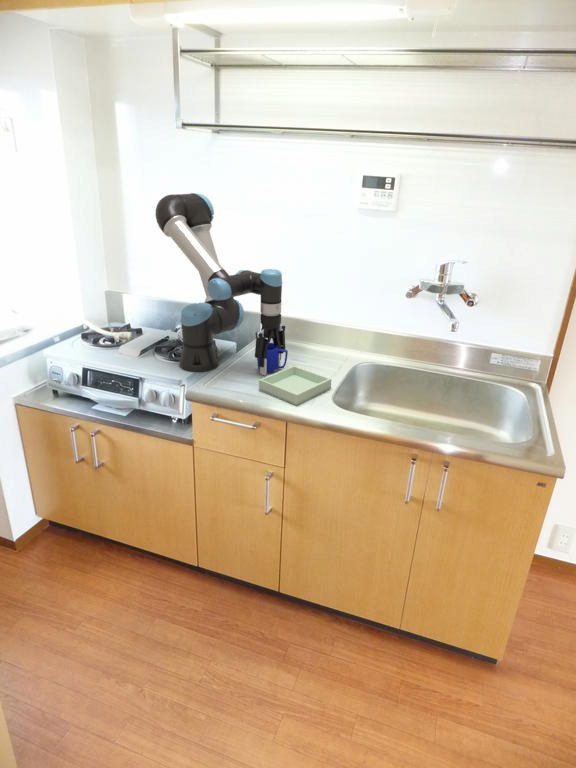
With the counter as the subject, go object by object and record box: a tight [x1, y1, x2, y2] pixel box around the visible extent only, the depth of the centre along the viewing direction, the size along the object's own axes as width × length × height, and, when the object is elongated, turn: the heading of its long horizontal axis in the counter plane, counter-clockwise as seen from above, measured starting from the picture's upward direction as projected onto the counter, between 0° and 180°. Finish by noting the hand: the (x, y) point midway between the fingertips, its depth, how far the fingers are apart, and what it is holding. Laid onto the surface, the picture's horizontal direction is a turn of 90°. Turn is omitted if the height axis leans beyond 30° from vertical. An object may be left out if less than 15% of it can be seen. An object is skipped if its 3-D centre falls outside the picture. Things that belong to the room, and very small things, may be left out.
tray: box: [258, 365, 332, 407], centre depth 178 cm, size 18×19×4 cm
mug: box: [256, 342, 288, 374], centre depth 191 cm, size 8×12×10 cm
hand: (270, 371), depth 192 cm, fingers closed on mug, 7 cm apart
